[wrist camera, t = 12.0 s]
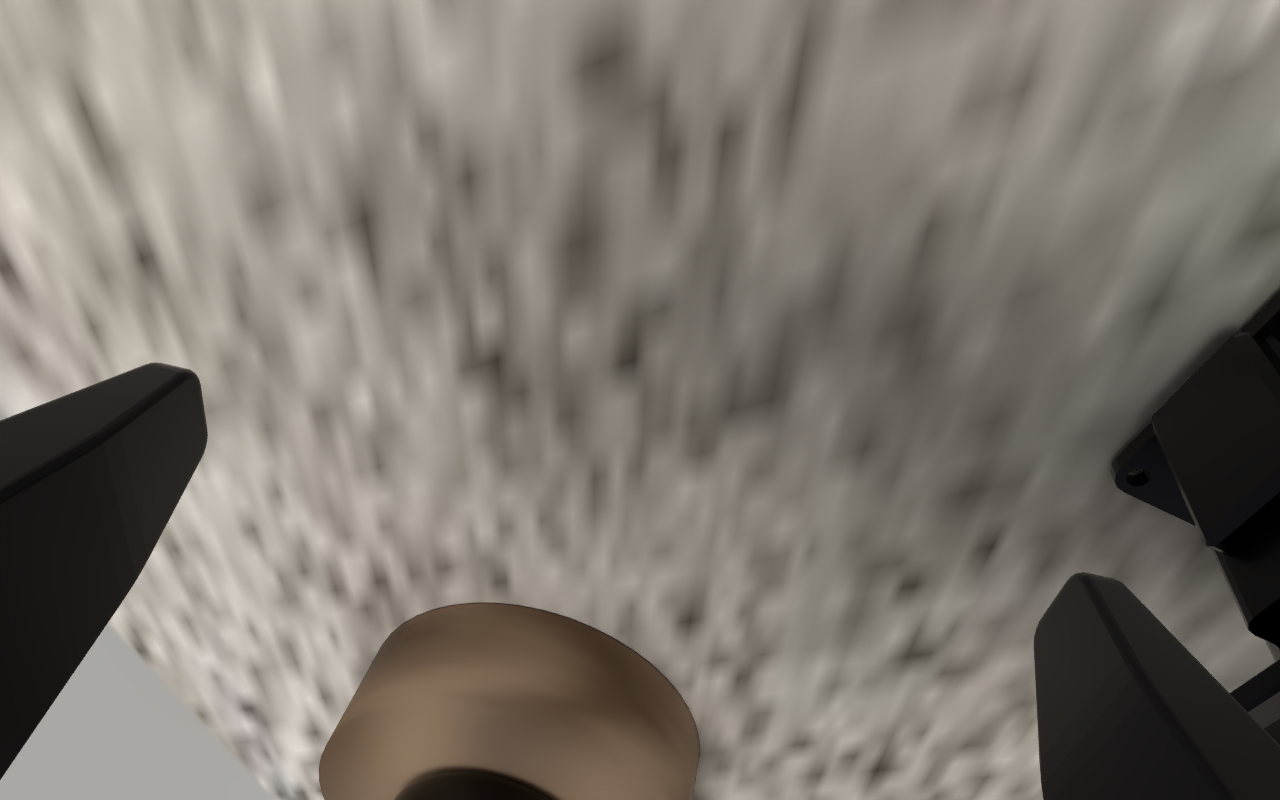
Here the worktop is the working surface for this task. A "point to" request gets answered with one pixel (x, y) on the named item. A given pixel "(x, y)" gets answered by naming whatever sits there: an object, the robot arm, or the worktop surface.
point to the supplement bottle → (468, 787)
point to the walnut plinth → (512, 711)
